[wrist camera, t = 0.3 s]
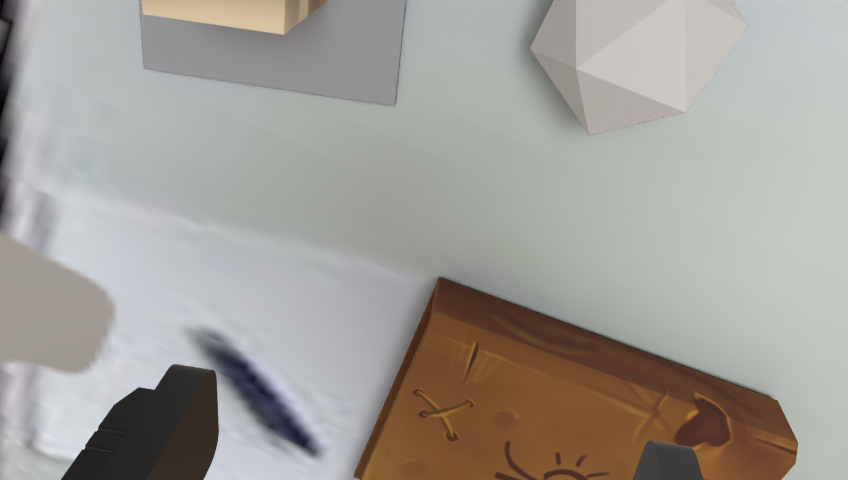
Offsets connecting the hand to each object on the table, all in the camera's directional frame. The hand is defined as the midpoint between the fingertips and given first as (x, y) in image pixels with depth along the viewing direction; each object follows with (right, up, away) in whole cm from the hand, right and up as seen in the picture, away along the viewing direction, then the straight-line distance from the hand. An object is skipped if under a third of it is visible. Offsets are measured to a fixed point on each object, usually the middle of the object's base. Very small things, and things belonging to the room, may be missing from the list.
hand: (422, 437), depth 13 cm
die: (+10, +15, +23) cm, 29 cm away
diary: (+9, -10, +37) cm, 39 cm away
